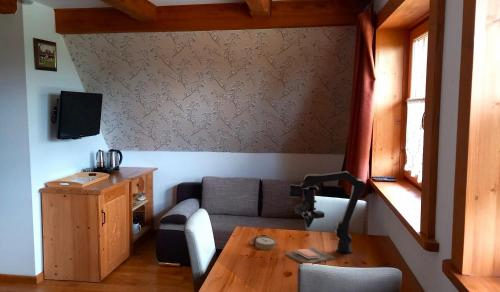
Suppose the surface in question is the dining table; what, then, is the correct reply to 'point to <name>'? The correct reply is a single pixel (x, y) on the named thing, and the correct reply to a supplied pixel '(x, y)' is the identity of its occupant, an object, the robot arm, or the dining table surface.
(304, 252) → the tile
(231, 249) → the dining table surface
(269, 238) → the alarm clock
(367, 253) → the dining table surface
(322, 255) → the board
